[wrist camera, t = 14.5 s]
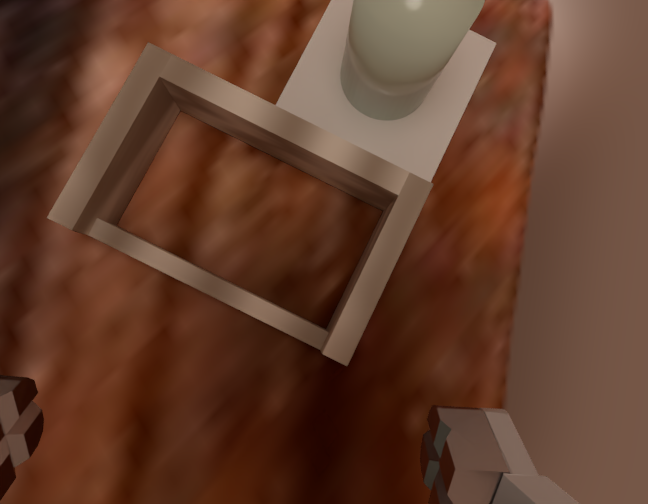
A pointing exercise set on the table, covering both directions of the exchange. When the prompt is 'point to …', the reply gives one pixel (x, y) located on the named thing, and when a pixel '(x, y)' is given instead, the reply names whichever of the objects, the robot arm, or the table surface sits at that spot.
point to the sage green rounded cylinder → (400, 51)
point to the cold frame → (264, 134)
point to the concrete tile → (381, 135)
